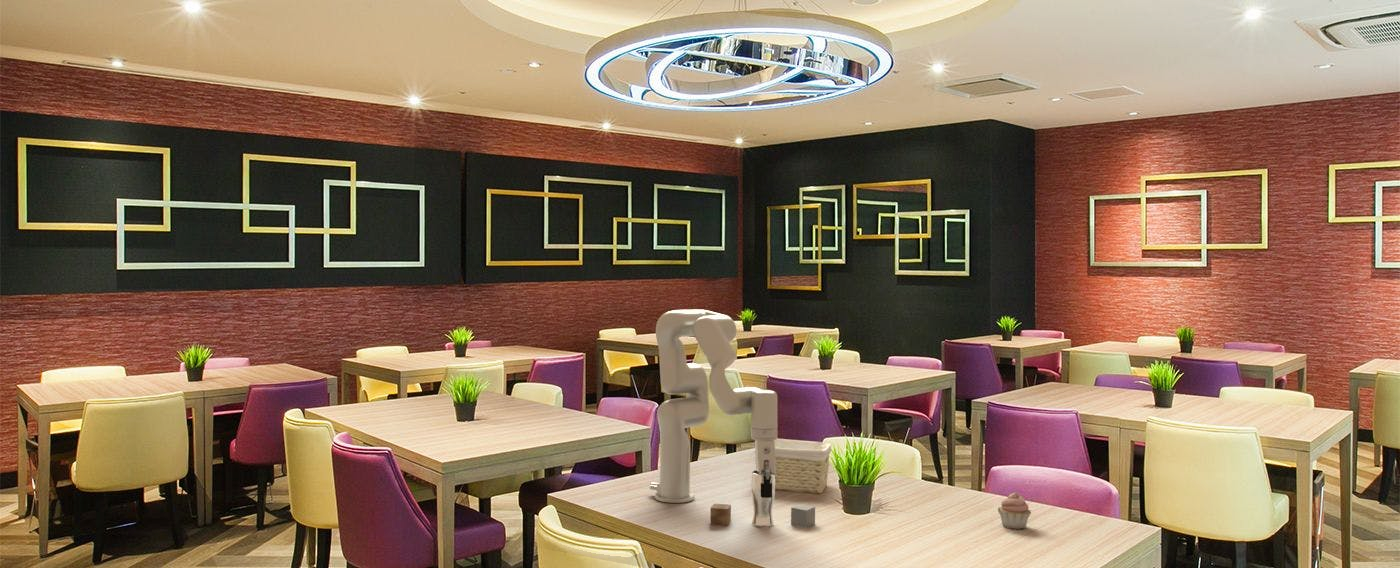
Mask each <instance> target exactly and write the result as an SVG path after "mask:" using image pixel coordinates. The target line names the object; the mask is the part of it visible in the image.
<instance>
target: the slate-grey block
mask: <svg viewBox="0 0 1400 568" xmlns="http://www.w3.org/2000/svg"><path fill="white" fill-rule="evenodd" d="M815 524H816V506H813V505H807V504H801V503H799V504H797V505H794V506H791V510H790V525H792V526H795V527H801V528H805V529H806V528H809V527H811V526H814V525H815Z"/></svg>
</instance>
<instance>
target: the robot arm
mask: <svg viewBox="0 0 1400 568" xmlns="http://www.w3.org/2000/svg"><path fill="white" fill-rule="evenodd" d="M737 331H738V330H737V324H736V323H735V321H734V319H732V318H731V317H730V316H729V315H727V314H722V313H719V312H714V311H711V310H706V309H675V310H674V309H673V310H670V311H667V312H664V313H663V314H661V316H660V317H659V318H658V320H657V322H656V324H655V338H656V342H657V346H658V354H659V355H658V356H659V359H658V360H659V375H660V377H659V378H660V386H661V389H662V391H663V392H664V393H665V394H667V395H683V394H685V396H686V397H679V398H678V397H677V398H672V399H667V400H665V401H663V402H662V403H661V404H660V405H659V407H658V409H657V412H656V413H657V416H656V418H657V422H658V427H659V438H660V439H659V441H660V443H659V450H660V451H659V454H660V455H659V482H652V481H651V482H650V484H649V489H650V490H651V491H652V490H654V491H656V493H655V494H654V499H655V500H656V501H659V502H660V503H661V502H662V503H668V504H672V503H673V504H681V503H687V502H692V501H693V500H694V499H695V494H694V493H693V492H692V491H690V490H691V487H690V486H691V485H690V483H691V441H690V437H689V436H688V435H689V434H687V432H686V429H687V428H693V427H700V426H701V425H704V424H705V423H706V422H707V421H708V418H709V414H710V404H709V403H710V402H709V389H710V392H711V395H712V397H713V399H714V401H715V402H716V405H717V406H718V408H719V409H720V410H721V411H722V413H724V414H725V415H727V416H736V415H743V414H750V432H751V433H750V435H751V436H750V438H751V440H753V441H754V443H755V444H754V457H755V458H754V459H755V470H757V472H758V474H759V475H761V480H762V483H761V497H762V498H771V497H772V478H771V473H772V474H773V475H775V474H776V465H775V443H774V440H777V439H778V394H777V392H776V391H774V390H773V389H772V390H771V389H762V388H761V389H760V388H758V387H754V386H747V387H735V388H732V387H731V385H730V383H729V381H728V379H727V377H726V370H727V368H729V367H730V366H731V365H732V364H733V363H734V362H735V361H736V359H737V353H736V352H735V350H734V347H733V346H732V344H731V342H732V341H733V340H734V339H735V338H736V336H737ZM685 337H688V338H689V337H694V338H695V339H696V342H697V343H698V345H699V347H700V349H701V351H702V353H703V355H704V357H705V358H706V361H707V362H708V364H709V366H710V371H709V377H708V376H707V373H706V371H705V369H704V368H703V366H701V365H700V364H699V363H694V362H689V363H687V353H686V348H685V346H684V344H683V342H682V340H681V339H680V338H685ZM708 378H709V379H708ZM708 382H709V383H708ZM708 385H709V386H708Z"/></svg>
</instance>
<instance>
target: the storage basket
mask: <svg viewBox="0 0 1400 568" xmlns="http://www.w3.org/2000/svg"><path fill="white" fill-rule="evenodd" d="M774 443H775V465H776V474H775V490H776V491H777V490H778V491H781V490H782V491H784V490H785V491H791V492H796V493H800V492H801V493H810V494H815V493H816V494H821V493H822V492H823V491H825V488H826V487H827V484H828V473H829V467H830V454H831V451H832V443H828V442H822V441H813V440H811V441H810V440H799V439H789V438H787V439H785V438H777V440H774Z"/></svg>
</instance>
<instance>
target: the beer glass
mask: <svg viewBox="0 0 1400 568" xmlns="http://www.w3.org/2000/svg"><path fill="white" fill-rule="evenodd" d="M771 478H772V497H771V498H762V497H761V483H762V480H761V475H759V474H758V472H757V470H756V469H755V470H752V472H751V478H750V479H751V483H750V492H751V500H752V506H753V515H752V521H751V524H752V526H754V527H757V528H769V527H773V526H774V520H773V507H774V503H775V502H774V501H775V496H776V489H775V475H773V474H772V473H771Z"/></svg>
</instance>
